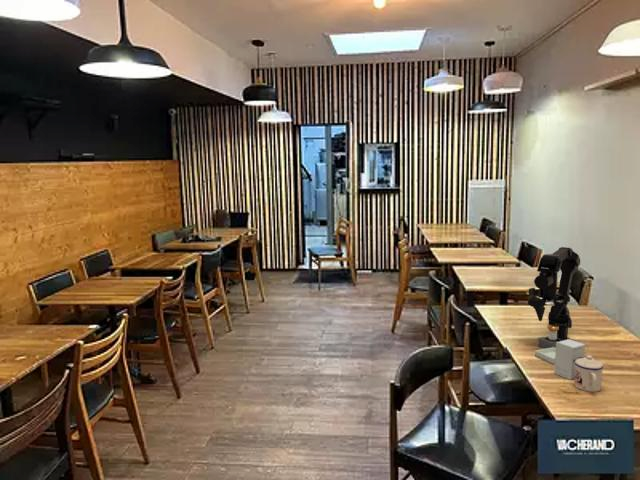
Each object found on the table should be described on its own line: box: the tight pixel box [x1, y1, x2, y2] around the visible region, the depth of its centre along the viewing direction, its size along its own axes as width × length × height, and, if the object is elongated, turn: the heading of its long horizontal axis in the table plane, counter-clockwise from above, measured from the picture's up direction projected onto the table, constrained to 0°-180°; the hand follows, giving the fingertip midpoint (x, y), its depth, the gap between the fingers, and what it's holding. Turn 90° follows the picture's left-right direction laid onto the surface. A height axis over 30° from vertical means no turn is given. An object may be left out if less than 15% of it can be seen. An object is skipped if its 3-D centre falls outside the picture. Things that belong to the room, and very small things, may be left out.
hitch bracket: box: [537, 335, 564, 349], centre depth 222 cm, size 8×8×4 cm
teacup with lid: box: [573, 354, 604, 393], centre depth 182 cm, size 12×9×12 cm
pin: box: [546, 324, 559, 342], centre depth 222 cm, size 5×5×10 cm
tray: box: [534, 347, 556, 366], centre depth 211 cm, size 10×10×2 cm
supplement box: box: [553, 339, 586, 381], centre depth 194 cm, size 7×7×13 cm
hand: (548, 319), depth 221 cm, fingers open, 9 cm apart
